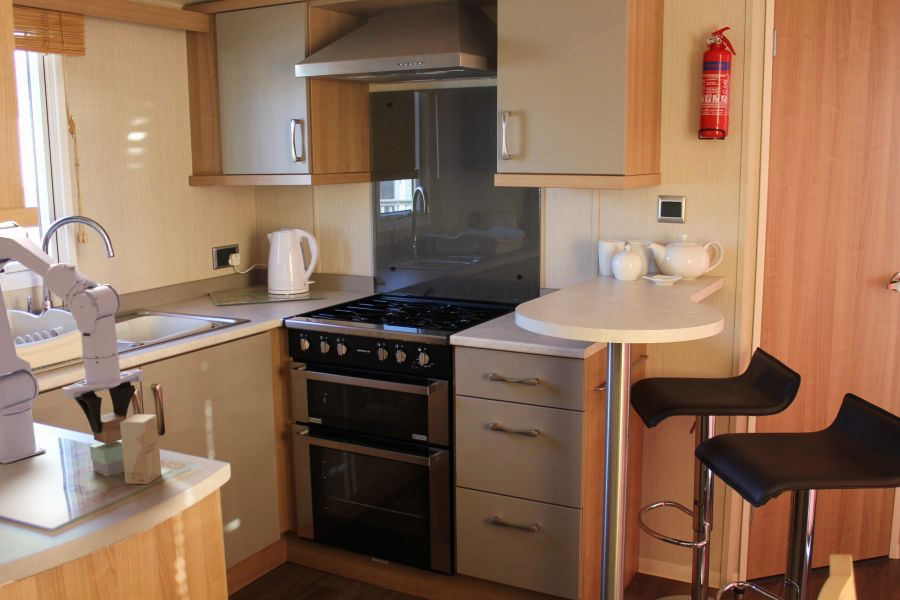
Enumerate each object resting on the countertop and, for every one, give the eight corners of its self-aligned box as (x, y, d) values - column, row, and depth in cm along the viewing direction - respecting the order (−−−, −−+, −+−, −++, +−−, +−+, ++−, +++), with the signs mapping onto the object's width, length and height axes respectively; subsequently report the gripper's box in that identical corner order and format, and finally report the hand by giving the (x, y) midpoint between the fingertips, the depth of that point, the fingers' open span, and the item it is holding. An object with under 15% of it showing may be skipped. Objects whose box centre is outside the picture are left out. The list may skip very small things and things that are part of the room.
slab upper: (91, 458, 160) (89, 445, 160) (116, 450, 164) (115, 437, 164) (105, 464, 157) (104, 451, 157) (131, 456, 161) (130, 443, 160)
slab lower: (93, 471, 161) (92, 458, 160) (118, 463, 165) (117, 450, 164) (108, 477, 158) (107, 464, 157) (134, 469, 161) (132, 456, 161)
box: (147, 485, 153) (141, 423, 151) (124, 483, 154) (118, 422, 152) (162, 473, 158) (157, 413, 156) (140, 472, 159) (134, 412, 157)
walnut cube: (94, 439, 160) (92, 418, 159) (114, 433, 163) (112, 412, 162) (106, 444, 157) (104, 422, 156) (126, 437, 160) (124, 416, 160)
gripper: (73, 366, 149) (82, 444, 152) (150, 349, 160) (157, 421, 163) (52, 361, 154) (61, 436, 156) (128, 344, 165) (135, 414, 167)
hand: (108, 428), depth 160 cm, fingers closed on walnut cube, 4 cm apart
